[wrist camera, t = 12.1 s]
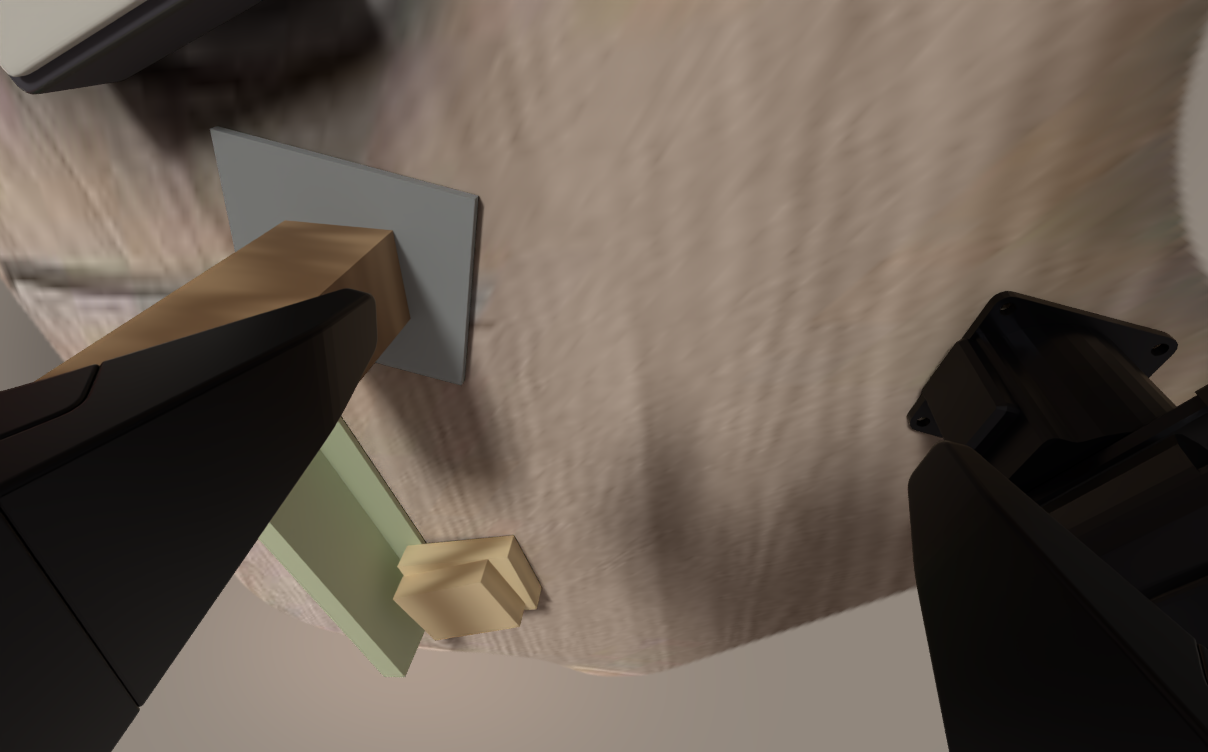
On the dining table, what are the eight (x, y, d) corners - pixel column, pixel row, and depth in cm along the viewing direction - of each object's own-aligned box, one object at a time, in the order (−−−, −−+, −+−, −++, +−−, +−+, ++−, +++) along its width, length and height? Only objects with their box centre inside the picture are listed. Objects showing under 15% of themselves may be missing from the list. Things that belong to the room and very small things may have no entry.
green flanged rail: (323, 390, 29) (260, 461, 25) (466, 602, 39) (437, 678, 35) (245, 401, 30) (174, 471, 26) (401, 603, 40) (367, 676, 36)
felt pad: (478, 195, 22) (474, 199, 21) (464, 380, 27) (461, 385, 27) (217, 126, 22) (210, 129, 21) (256, 325, 27) (251, 329, 27)
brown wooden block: (392, 230, 23) (187, 412, 14) (410, 318, 25) (245, 521, 16) (284, 220, 23) (20, 390, 14) (312, 308, 25) (101, 499, 17)
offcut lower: (513, 535, 34) (507, 557, 32) (541, 587, 36) (536, 609, 35) (407, 545, 35) (397, 566, 34) (441, 594, 38) (433, 615, 37)
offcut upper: (487, 558, 33) (480, 582, 31) (525, 603, 35) (519, 626, 34) (402, 576, 35) (392, 599, 33) (443, 618, 37) (435, 640, 36)
